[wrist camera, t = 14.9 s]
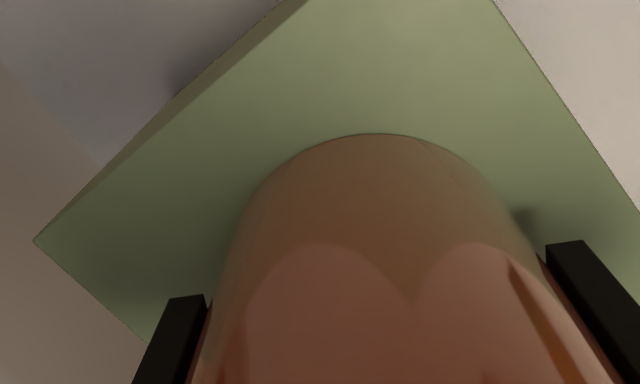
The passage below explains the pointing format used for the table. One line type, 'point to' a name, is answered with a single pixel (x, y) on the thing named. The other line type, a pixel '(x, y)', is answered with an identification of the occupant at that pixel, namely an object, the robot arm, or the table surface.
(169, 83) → the table surface
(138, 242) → the sage green pedestal
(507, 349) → the cup
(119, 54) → the table surface
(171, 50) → the table surface
